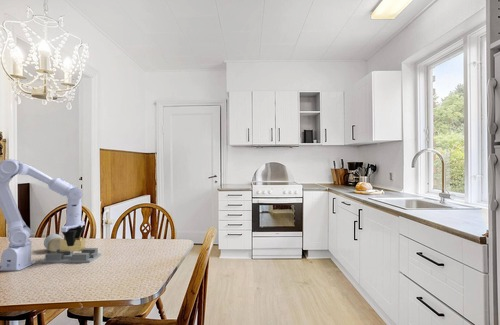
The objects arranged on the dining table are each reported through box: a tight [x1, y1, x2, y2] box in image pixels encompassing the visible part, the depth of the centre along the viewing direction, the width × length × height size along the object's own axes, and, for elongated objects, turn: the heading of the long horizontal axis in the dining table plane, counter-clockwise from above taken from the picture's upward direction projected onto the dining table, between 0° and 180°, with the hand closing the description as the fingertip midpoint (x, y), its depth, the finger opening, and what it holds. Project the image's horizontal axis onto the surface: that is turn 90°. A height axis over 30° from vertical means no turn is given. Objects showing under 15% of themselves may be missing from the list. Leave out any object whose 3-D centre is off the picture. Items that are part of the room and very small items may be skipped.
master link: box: [60, 236, 86, 252], centre depth 123 cm, size 4×9×6 cm, turn 93°
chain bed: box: [41, 247, 102, 264], centre depth 123 cm, size 10×20×4 cm, turn 93°
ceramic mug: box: [43, 233, 64, 253], centre depth 136 cm, size 11×8×8 cm
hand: (73, 244), depth 123 cm, fingers closed on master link, 3 cm apart
